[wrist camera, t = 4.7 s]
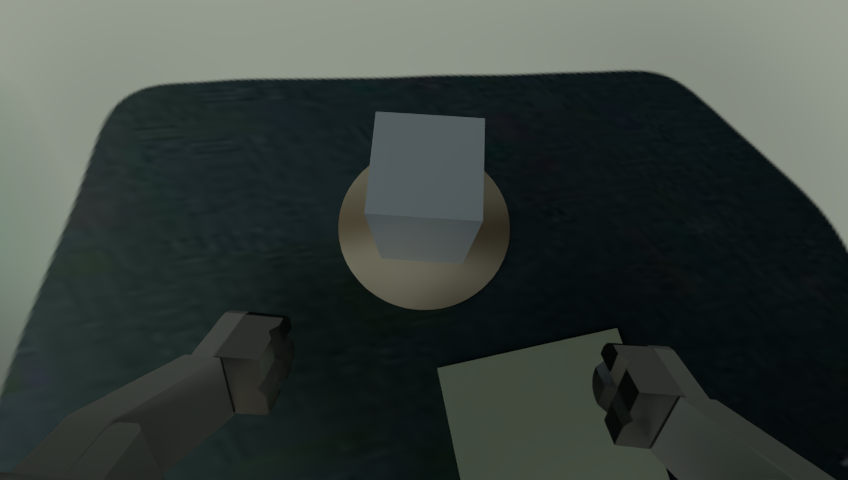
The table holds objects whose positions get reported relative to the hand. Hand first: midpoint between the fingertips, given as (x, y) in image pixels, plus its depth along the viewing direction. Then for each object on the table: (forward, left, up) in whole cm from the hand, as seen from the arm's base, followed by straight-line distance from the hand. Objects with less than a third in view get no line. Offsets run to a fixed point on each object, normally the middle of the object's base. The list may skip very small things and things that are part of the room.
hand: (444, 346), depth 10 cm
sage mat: (-6, -5, -11) cm, 13 cm away
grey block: (+7, -1, -11) cm, 13 cm away
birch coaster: (+7, -1, -11) cm, 13 cm away
